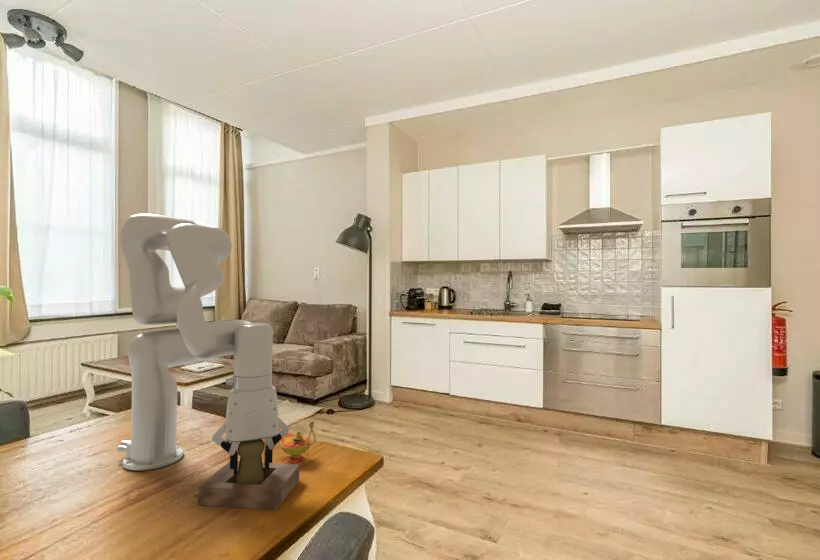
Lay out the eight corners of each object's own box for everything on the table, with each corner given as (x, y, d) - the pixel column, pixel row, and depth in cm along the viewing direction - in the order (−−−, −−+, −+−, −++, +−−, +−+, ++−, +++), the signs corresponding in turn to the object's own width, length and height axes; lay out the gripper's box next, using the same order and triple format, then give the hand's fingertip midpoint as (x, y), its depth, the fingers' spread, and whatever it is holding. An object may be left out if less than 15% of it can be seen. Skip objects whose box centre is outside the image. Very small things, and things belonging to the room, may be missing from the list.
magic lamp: (282, 445, 110) (283, 404, 110) (326, 463, 99) (327, 418, 99) (259, 453, 105) (260, 410, 105) (303, 473, 94) (303, 425, 94)
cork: (254, 501, 82) (256, 446, 82) (227, 497, 83) (229, 443, 83) (270, 487, 88) (272, 435, 88) (245, 483, 89) (246, 432, 89)
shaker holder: (197, 504, 80) (197, 486, 80) (230, 476, 92) (230, 460, 92) (276, 510, 79) (276, 491, 79) (299, 480, 91) (299, 464, 91)
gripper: (206, 390, 79) (204, 485, 78) (297, 382, 86) (296, 469, 86) (208, 381, 86) (206, 468, 85) (292, 375, 93) (290, 455, 92)
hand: (251, 468), depth 85 cm, fingers open, 5 cm apart
